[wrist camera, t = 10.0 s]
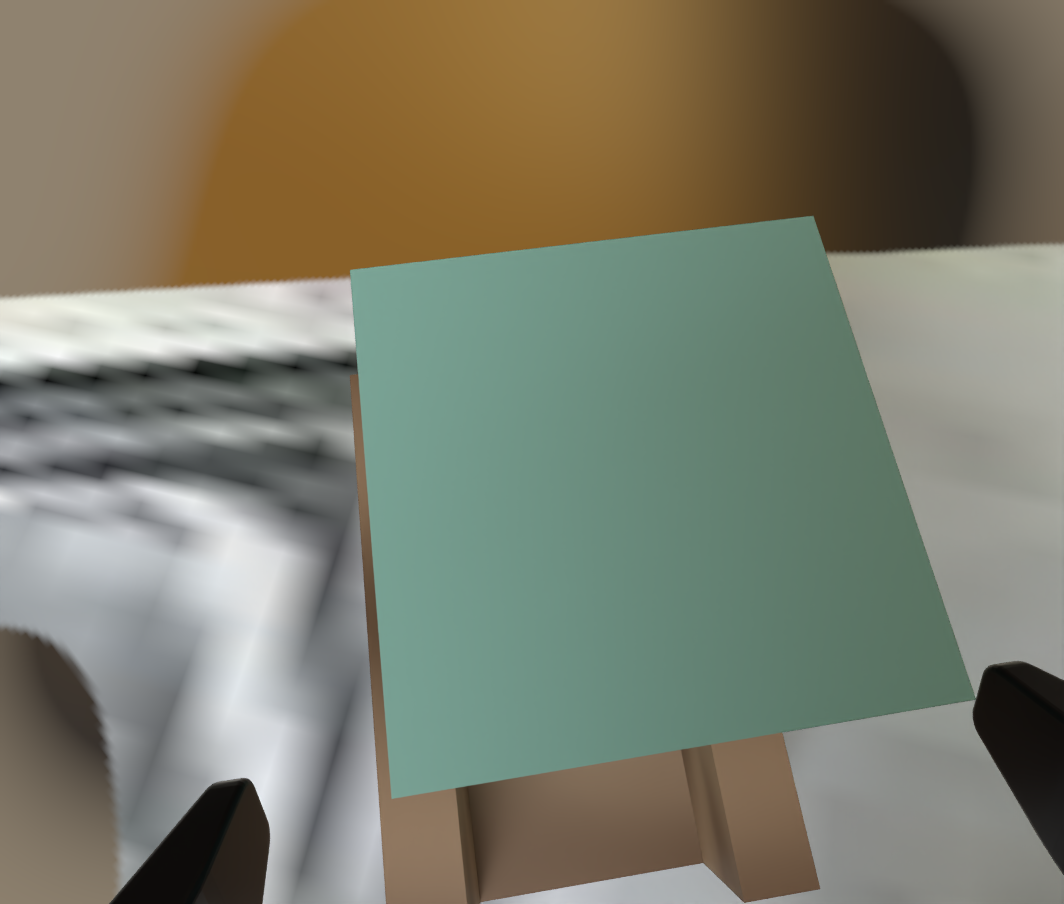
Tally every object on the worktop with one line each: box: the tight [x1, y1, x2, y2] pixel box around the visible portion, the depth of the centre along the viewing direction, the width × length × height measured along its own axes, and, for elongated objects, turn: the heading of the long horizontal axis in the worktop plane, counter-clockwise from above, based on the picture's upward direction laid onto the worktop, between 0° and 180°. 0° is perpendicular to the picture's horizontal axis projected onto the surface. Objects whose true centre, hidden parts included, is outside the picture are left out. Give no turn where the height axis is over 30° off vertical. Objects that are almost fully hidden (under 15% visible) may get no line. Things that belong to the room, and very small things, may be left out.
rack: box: [350, 374, 820, 904], centre depth 17 cm, size 12×8×4 cm
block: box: [350, 216, 976, 799], centre depth 11 cm, size 4×4×13 cm
